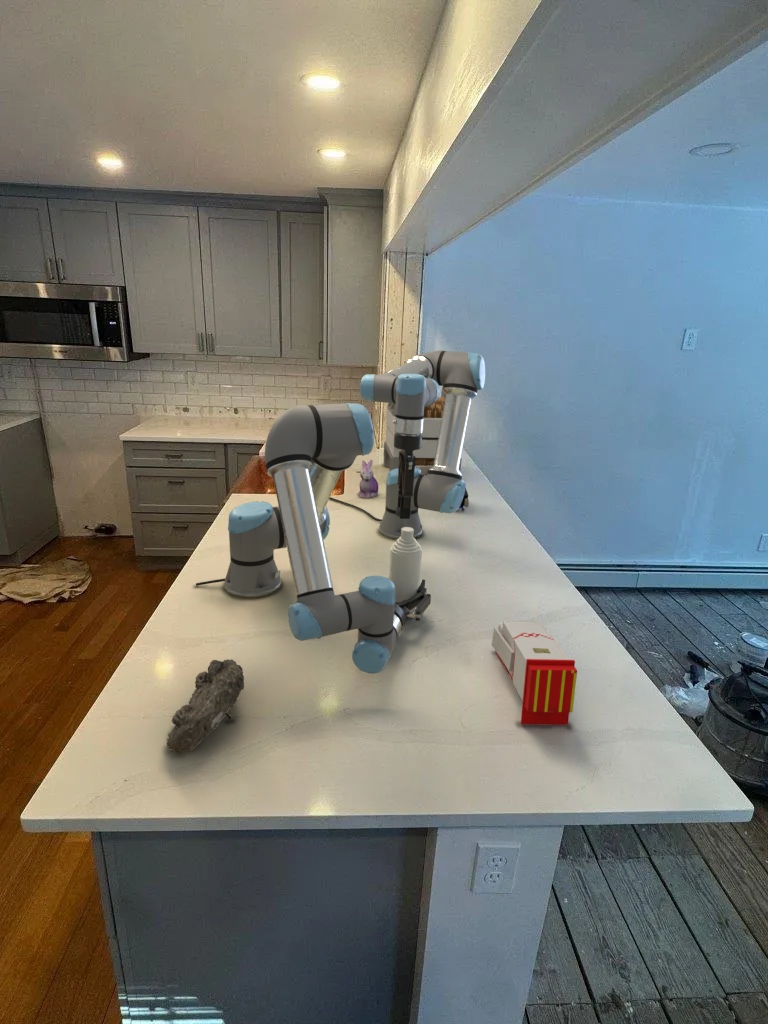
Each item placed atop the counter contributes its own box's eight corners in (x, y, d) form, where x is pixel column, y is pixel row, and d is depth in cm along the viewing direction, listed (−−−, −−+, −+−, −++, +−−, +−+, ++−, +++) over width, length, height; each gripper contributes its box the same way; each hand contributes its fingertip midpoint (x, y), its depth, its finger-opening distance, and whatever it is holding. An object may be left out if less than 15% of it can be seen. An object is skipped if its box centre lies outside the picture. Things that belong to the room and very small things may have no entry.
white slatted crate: (382, 463, 289) (386, 382, 275) (445, 464, 293) (451, 384, 279) (390, 482, 257) (394, 392, 243) (460, 483, 261) (468, 394, 247)
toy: (538, 606, 134) (586, 666, 105) (533, 659, 137) (578, 731, 108) (487, 605, 134) (521, 665, 105) (483, 658, 137) (515, 730, 107)
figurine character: (468, 516, 224) (463, 500, 237) (471, 498, 221) (465, 483, 234) (452, 515, 224) (447, 499, 237) (453, 498, 220) (449, 482, 234)
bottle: (419, 606, 152) (425, 525, 144) (414, 620, 145) (420, 536, 137) (391, 601, 154) (395, 521, 146) (384, 615, 146) (388, 532, 138)
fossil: (192, 660, 117) (244, 628, 112) (224, 691, 120) (276, 661, 115) (142, 746, 98) (202, 712, 93) (182, 779, 101) (242, 748, 96)
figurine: (363, 499, 233) (364, 464, 228) (353, 492, 242) (354, 458, 236) (383, 497, 237) (385, 462, 232) (373, 490, 246) (374, 456, 241)
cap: (393, 515, 159) (393, 510, 158) (398, 511, 162) (398, 506, 162) (408, 518, 157) (408, 513, 157) (412, 513, 161) (413, 508, 160)
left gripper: (343, 630, 134) (370, 588, 155) (429, 646, 129) (445, 600, 150) (343, 602, 132) (371, 563, 152) (431, 617, 127) (447, 574, 148)
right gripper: (390, 426, 160) (386, 505, 167) (398, 440, 143) (394, 526, 151) (416, 427, 161) (411, 505, 168) (428, 440, 144) (421, 526, 152)
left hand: (407, 581), depth 151 cm, fingers closed on bottle, 8 cm apart
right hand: (403, 515), depth 160 cm, fingers closed on cap, 4 cm apart
